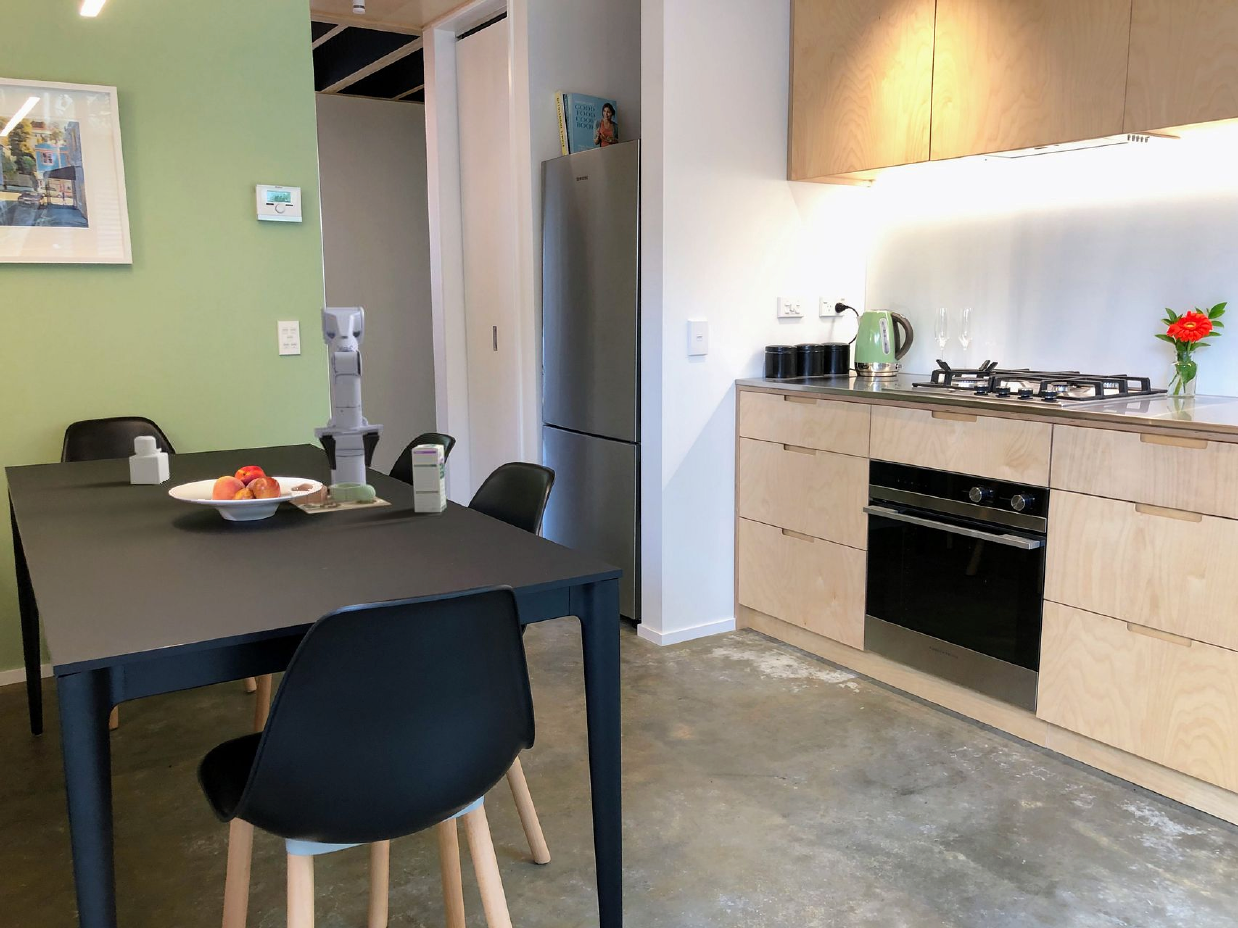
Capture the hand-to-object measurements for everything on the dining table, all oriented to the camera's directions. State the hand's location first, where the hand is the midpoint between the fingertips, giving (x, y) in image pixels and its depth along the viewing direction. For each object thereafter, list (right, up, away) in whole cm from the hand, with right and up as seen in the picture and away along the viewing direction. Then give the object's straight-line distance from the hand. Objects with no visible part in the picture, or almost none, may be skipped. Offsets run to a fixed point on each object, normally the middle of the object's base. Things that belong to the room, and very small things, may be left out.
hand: (350, 468), depth 214 cm
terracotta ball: (-10, -7, +3) cm, 13 cm away
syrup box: (+19, -10, -7) cm, 22 cm away
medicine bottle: (-60, -4, +32) cm, 68 cm away
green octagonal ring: (-2, -8, +6) cm, 10 cm away
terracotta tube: (-10, -8, +3) cm, 13 cm away
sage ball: (+3, -8, +1) cm, 8 cm away
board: (-3, -8, +2) cm, 9 cm away
